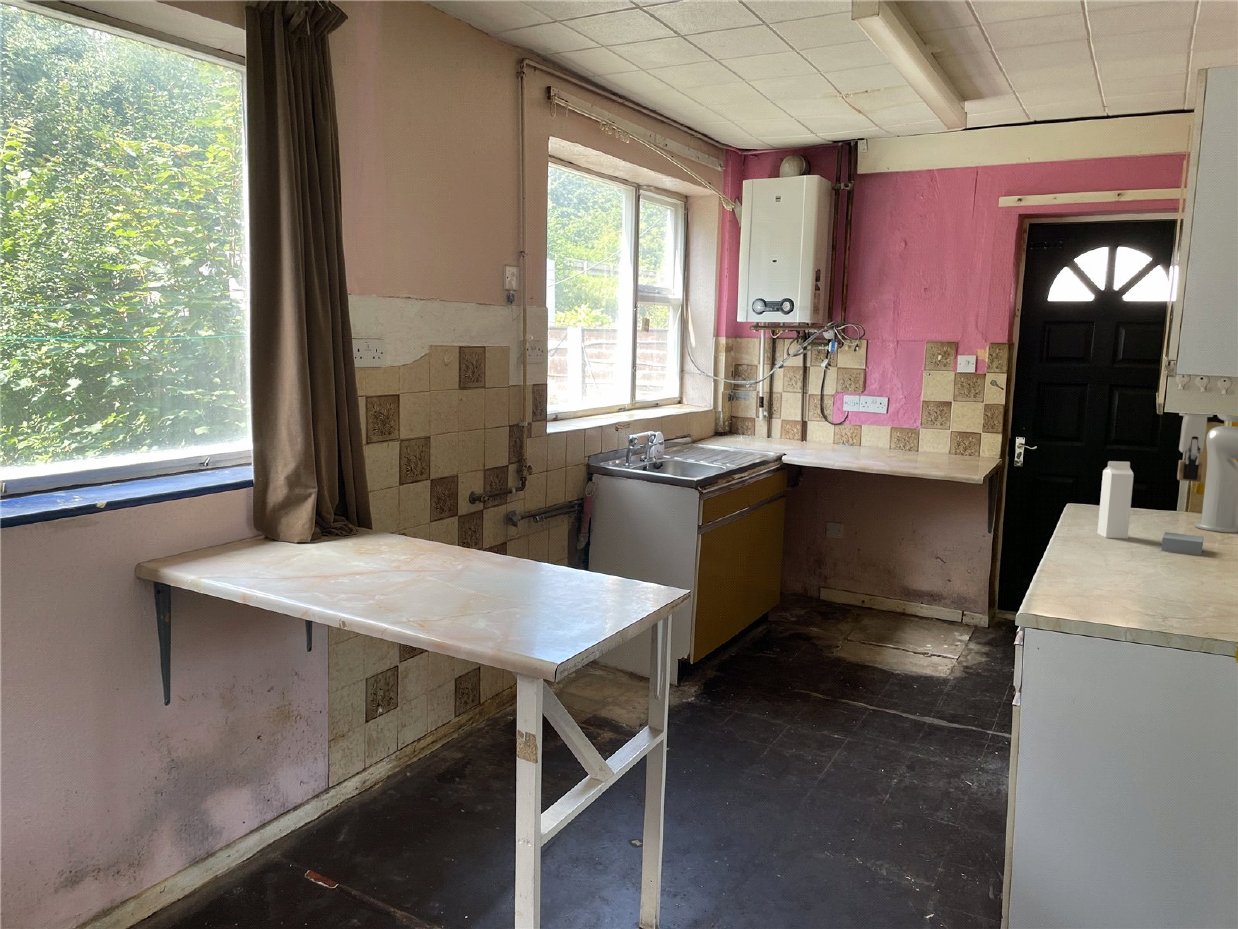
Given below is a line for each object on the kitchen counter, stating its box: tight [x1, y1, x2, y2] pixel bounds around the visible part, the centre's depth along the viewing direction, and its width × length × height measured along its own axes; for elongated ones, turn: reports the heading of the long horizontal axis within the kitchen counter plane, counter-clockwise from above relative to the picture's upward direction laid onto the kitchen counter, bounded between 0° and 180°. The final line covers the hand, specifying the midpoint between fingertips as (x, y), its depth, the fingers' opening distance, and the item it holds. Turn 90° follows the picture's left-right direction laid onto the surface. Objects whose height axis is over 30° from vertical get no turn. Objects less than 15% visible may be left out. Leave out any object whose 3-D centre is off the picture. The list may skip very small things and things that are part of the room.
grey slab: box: [1160, 531, 1205, 557], centre depth 238 cm, size 9×9×4 cm
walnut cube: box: [1176, 459, 1203, 483], centre depth 235 cm, size 5×5×5 cm
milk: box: [1096, 460, 1135, 540], centre depth 253 cm, size 6×6×22 cm
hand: (1189, 477), depth 235 cm, fingers closed on walnut cube, 5 cm apart
